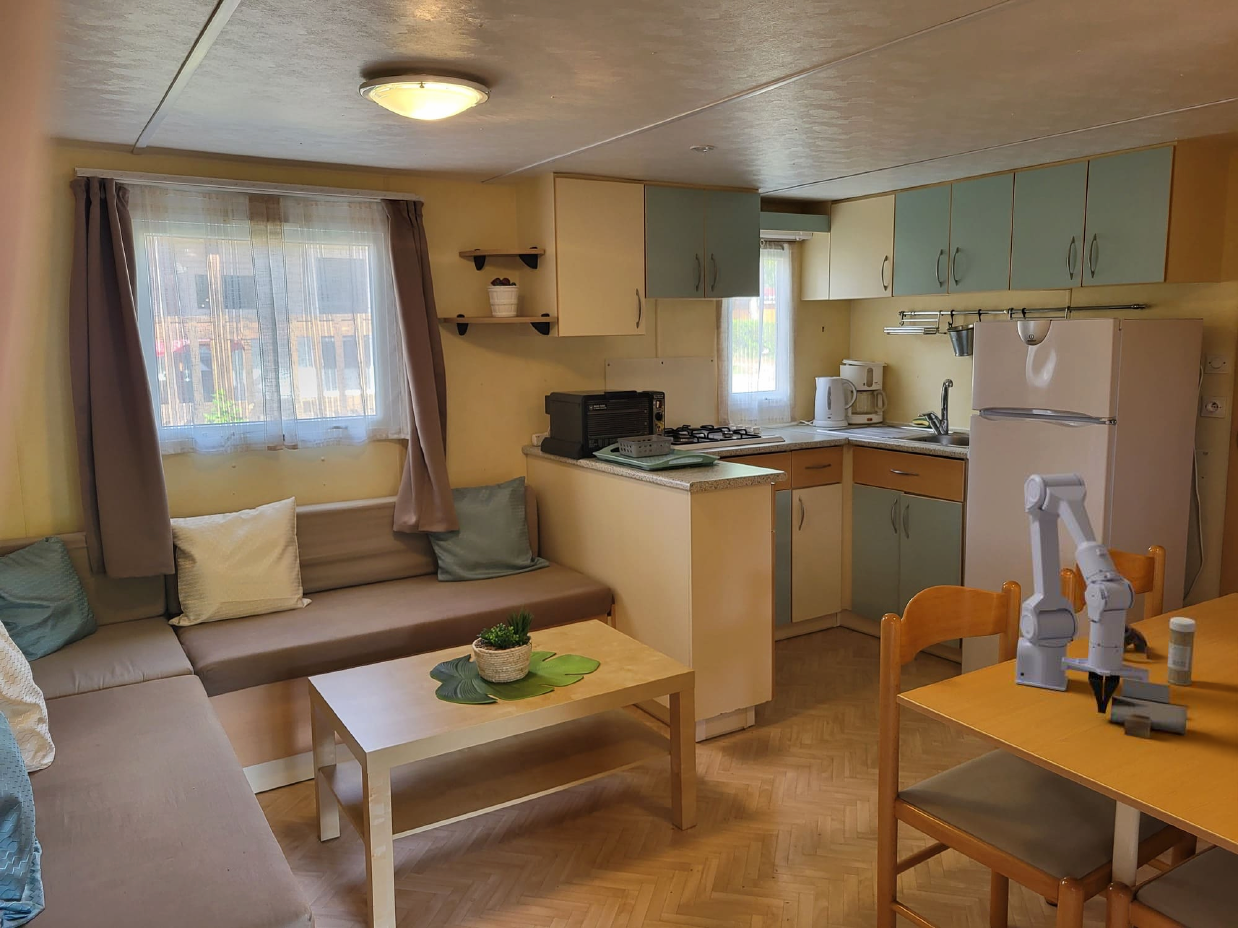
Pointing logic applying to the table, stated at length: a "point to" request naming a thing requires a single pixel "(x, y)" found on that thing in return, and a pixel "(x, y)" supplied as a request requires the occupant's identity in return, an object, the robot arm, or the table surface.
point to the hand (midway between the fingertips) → (1102, 711)
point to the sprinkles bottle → (1181, 651)
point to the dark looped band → (1135, 640)
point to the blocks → (1137, 726)
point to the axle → (1150, 713)
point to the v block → (1145, 691)
